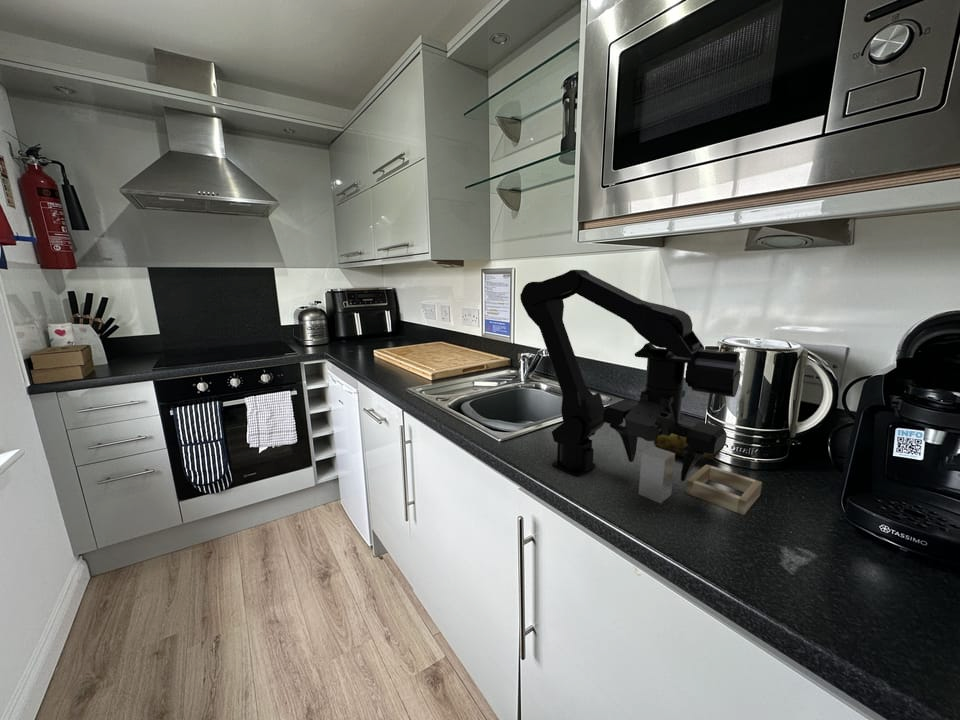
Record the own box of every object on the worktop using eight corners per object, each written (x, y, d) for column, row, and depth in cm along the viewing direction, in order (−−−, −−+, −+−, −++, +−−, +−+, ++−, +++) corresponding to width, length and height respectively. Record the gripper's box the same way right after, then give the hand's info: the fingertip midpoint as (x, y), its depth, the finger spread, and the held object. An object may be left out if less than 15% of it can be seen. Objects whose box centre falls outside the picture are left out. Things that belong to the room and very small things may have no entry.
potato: (673, 443, 90) (676, 410, 88) (729, 466, 79) (733, 429, 77) (648, 450, 86) (651, 416, 85) (702, 475, 75) (707, 437, 73)
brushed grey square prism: (638, 494, 69) (641, 452, 67) (649, 486, 72) (652, 446, 70) (660, 503, 66) (664, 460, 64) (671, 494, 69) (675, 453, 67)
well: (685, 493, 69) (687, 480, 69) (705, 476, 75) (706, 464, 74) (744, 515, 62) (745, 501, 62) (760, 494, 68) (762, 482, 68)
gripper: (588, 383, 67) (584, 466, 70) (705, 409, 53) (694, 511, 56) (621, 372, 74) (616, 448, 77) (733, 393, 60) (721, 484, 63)
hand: (656, 470), depth 68 cm, fingers open, 9 cm apart
